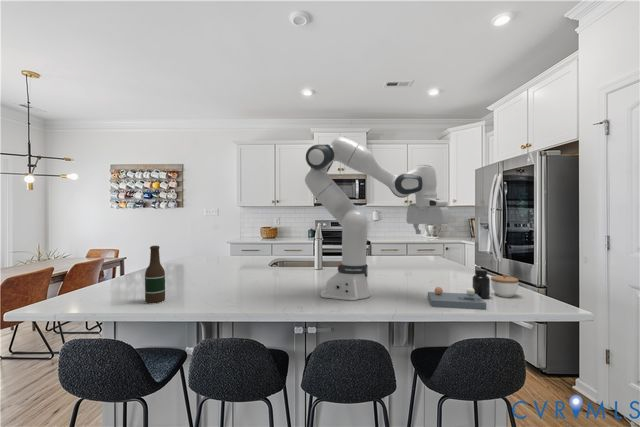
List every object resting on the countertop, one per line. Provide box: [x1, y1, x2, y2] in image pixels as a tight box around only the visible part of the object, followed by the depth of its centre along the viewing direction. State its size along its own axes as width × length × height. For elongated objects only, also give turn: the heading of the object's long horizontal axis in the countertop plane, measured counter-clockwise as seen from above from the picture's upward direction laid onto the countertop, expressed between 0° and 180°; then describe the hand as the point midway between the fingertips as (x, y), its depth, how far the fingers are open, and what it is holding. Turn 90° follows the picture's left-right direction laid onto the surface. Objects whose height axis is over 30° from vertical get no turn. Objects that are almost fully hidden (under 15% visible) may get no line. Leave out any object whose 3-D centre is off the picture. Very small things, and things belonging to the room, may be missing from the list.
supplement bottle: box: [472, 268, 491, 300], centre depth 142 cm, size 7×7×12 cm
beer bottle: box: [144, 245, 166, 304], centre depth 139 cm, size 8×8×24 cm
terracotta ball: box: [434, 286, 444, 295], centre depth 137 cm, size 3×3×3 cm
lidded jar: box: [490, 273, 520, 298], centre depth 145 cm, size 11×11×9 cm
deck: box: [427, 291, 487, 310], centre depth 133 cm, size 20×14×2 cm
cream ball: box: [466, 287, 475, 295], centre depth 136 cm, size 3×3×3 cm
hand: (427, 234), depth 140 cm, fingers open, 8 cm apart
